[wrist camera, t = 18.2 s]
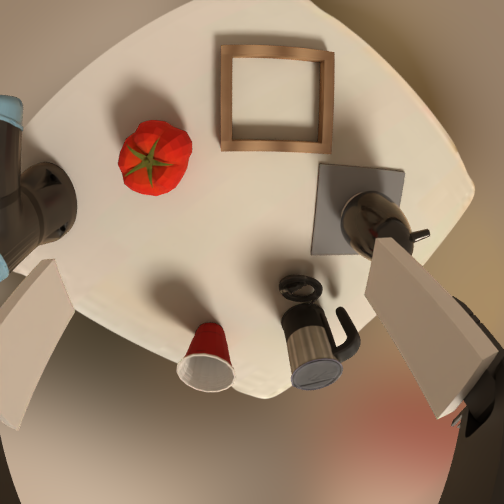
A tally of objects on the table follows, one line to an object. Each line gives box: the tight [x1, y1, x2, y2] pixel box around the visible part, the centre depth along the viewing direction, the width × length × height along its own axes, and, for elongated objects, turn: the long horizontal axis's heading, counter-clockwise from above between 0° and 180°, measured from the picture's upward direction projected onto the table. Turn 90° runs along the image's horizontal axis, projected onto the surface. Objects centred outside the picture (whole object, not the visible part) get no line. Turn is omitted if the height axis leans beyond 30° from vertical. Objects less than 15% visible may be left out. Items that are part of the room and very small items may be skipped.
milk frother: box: [279, 275, 360, 390], centre depth 48 cm, size 14×16×15 cm
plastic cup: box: [177, 322, 236, 392], centre depth 51 cm, size 11×11×12 cm
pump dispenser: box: [340, 191, 430, 261], centre depth 38 cm, size 10×10×15 cm
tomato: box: [118, 120, 192, 196], centre depth 36 cm, size 11×11×9 cm
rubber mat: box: [311, 164, 405, 255], centre depth 45 cm, size 16×16×1 cm
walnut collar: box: [221, 45, 334, 154], centre depth 35 cm, size 16×16×2 cm
